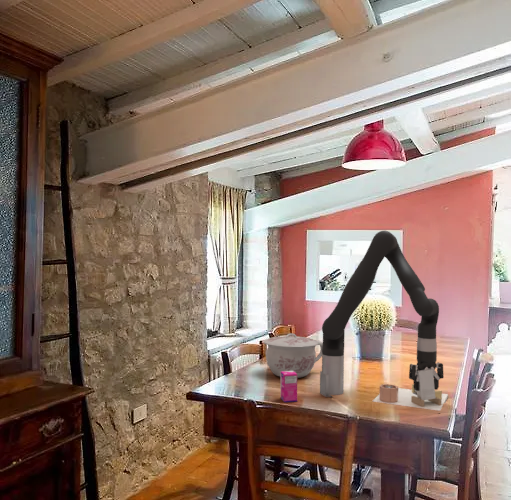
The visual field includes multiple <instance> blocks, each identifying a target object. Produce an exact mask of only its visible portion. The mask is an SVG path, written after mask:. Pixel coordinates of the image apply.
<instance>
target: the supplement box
mask: <svg viewBox="0 0 511 500" xmlns="http://www.w3.org/2000/svg"><path fill="white" fill-rule="evenodd" d="M279 378H280V380H279V381H280V382H279V383H280V399H281V400H282V401H283V402H284V403H294V402H295V403H296V402H298V378H297V373H295V372H294V371H281V372H280V377H279Z"/></svg>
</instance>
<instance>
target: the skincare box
mask: <svg viewBox="0 0 511 500" xmlns="http://www.w3.org/2000/svg"><path fill="white" fill-rule="evenodd" d="M416 369H417V368H416ZM416 374H417V377H418V376H419V391H417V397H418V398H420V399H422V400H429V399H435V391H436V390H435V388H434V377H433V369H430V368H429V369H428V370H419V369H417V370H416Z"/></svg>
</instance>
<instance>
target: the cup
mask: <svg viewBox="0 0 511 500" xmlns="http://www.w3.org/2000/svg"><path fill="white" fill-rule="evenodd" d="M388 385H390V386H393V388H385V386H388ZM398 388H399V386H397V385H396V384H391V383H390V384H389V383H383V384H382V383H381V384H380V385H379V394H380V400H381V401H383V402H388V403H394V402H397V401H398ZM388 403H387V404H388Z"/></svg>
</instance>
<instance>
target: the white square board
mask: <svg viewBox="0 0 511 500" xmlns="http://www.w3.org/2000/svg"><path fill="white" fill-rule="evenodd" d="M413 386H414V383H413V384H411V389H408V388H401V387H398V401H397V402H394V403H388V402H383V401H381V400H380V393H379V394H378V395H377V396H376V397H375V398H374V399H372V402H375V403H381V404H382V403H383V404H388V405H396V406H403V407H411V408H416V409H417V408H418V409H425V410H430V411H431V410H432V411H438V412H439V411H441V410H442V408H443V405H444V404H446V402H447V399H448V398H449V394H448V393H443V391H442V390H441V389H437V390H435V399H429V400H422V399H420V398H418V397H417V392H416V391H415V389H414V387H413ZM437 414H438V415H439V414H441V413H437Z"/></svg>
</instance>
